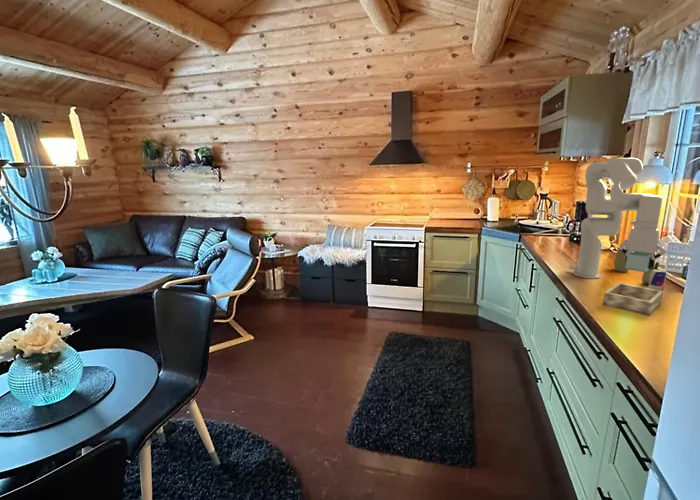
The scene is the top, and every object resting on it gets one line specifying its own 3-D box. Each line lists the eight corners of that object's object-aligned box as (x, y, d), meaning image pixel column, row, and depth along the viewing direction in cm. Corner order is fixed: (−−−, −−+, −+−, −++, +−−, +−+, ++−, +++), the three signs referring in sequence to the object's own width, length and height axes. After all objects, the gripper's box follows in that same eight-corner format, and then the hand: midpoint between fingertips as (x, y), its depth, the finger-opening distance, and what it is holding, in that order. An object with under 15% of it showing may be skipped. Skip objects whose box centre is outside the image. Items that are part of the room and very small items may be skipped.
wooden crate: (602, 304, 165) (604, 292, 164) (617, 293, 178) (618, 282, 177) (649, 315, 153) (651, 302, 152) (661, 303, 166) (663, 291, 165)
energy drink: (658, 298, 172) (663, 273, 169) (644, 294, 177) (649, 270, 174) (664, 296, 174) (669, 271, 172) (650, 293, 179) (655, 268, 176)
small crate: (625, 268, 161) (627, 254, 160) (631, 264, 168) (634, 250, 166) (645, 272, 156) (648, 257, 155) (651, 267, 163) (654, 253, 161)
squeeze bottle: (630, 273, 209) (636, 241, 205) (612, 271, 213) (617, 240, 209) (629, 270, 216) (634, 239, 212) (612, 268, 220) (617, 237, 216)
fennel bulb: (655, 284, 192) (659, 261, 189) (655, 286, 188) (660, 263, 185) (640, 282, 195) (644, 259, 192) (641, 284, 191) (645, 261, 188)
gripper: (618, 223, 162) (612, 264, 166) (670, 228, 149) (662, 272, 153) (623, 221, 166) (617, 261, 170) (674, 226, 154) (666, 269, 158)
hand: (638, 266), depth 162 cm, fingers closed on small crate, 7 cm apart
